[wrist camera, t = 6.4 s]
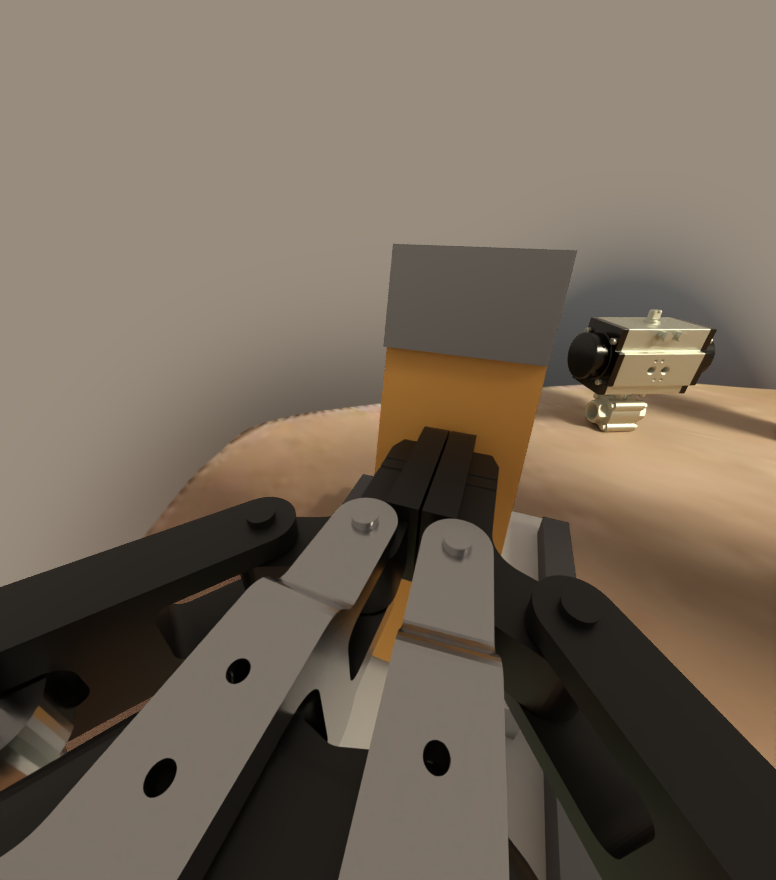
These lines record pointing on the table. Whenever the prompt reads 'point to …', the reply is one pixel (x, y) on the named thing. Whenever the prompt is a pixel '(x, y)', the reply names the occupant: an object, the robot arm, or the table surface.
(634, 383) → the pneumatic valve
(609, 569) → the table surface
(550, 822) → the dark grey mounting rails
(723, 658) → the table surface
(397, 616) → the lever
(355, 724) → the breaker panel
